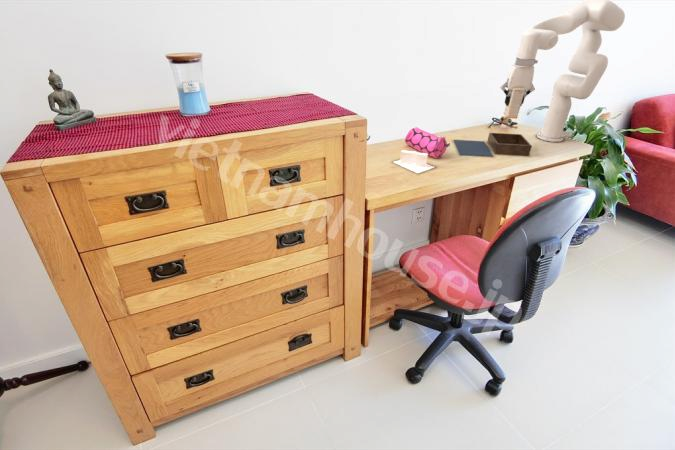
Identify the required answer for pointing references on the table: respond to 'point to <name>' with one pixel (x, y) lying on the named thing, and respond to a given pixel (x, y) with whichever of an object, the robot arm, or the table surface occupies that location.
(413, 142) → the pencil case
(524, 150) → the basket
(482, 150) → the mat
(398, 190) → the table surface
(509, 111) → the supplement box
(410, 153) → the napkin holder
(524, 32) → the robot arm
